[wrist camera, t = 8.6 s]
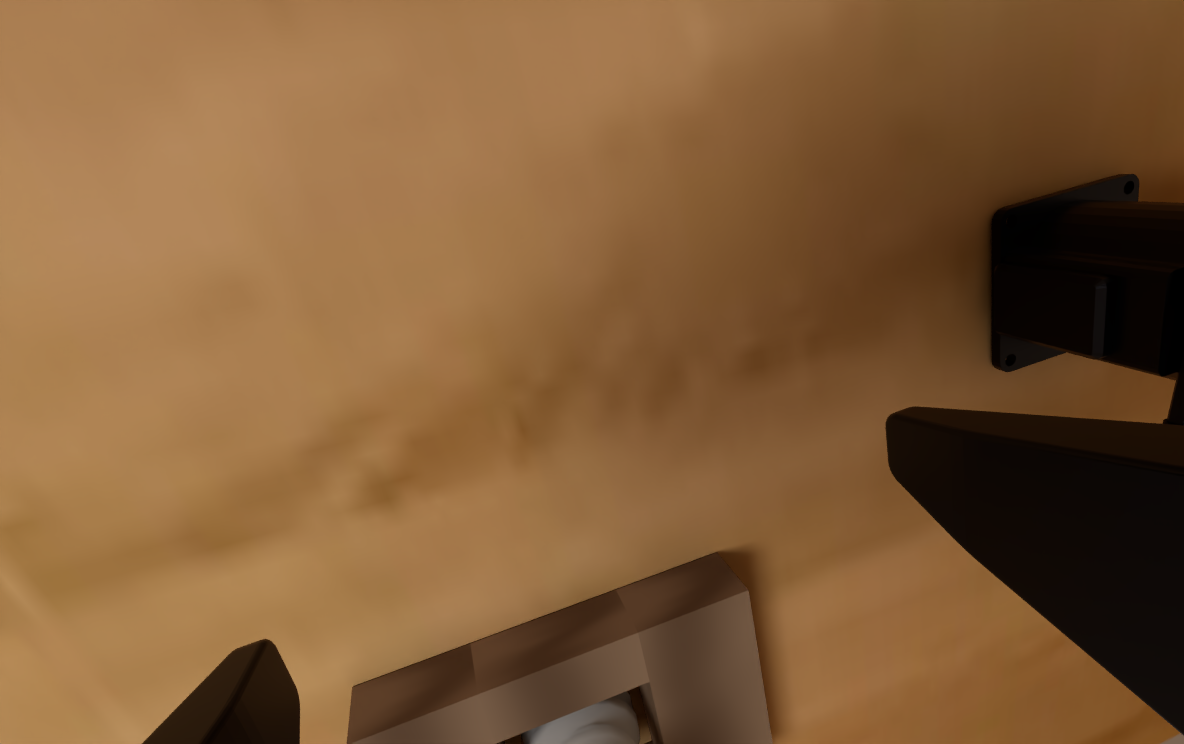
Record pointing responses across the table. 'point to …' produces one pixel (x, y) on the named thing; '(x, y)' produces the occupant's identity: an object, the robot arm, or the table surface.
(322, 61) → the table surface
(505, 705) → the socket board
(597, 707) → the rook chess piece
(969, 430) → the robot arm
